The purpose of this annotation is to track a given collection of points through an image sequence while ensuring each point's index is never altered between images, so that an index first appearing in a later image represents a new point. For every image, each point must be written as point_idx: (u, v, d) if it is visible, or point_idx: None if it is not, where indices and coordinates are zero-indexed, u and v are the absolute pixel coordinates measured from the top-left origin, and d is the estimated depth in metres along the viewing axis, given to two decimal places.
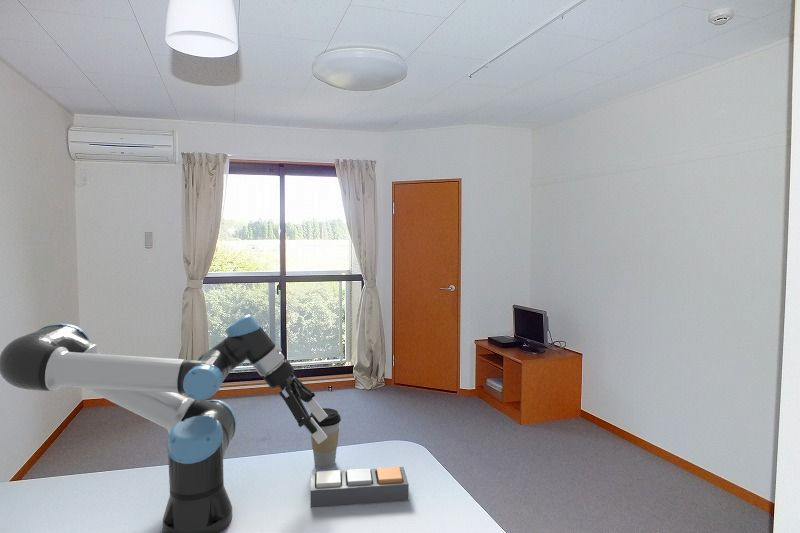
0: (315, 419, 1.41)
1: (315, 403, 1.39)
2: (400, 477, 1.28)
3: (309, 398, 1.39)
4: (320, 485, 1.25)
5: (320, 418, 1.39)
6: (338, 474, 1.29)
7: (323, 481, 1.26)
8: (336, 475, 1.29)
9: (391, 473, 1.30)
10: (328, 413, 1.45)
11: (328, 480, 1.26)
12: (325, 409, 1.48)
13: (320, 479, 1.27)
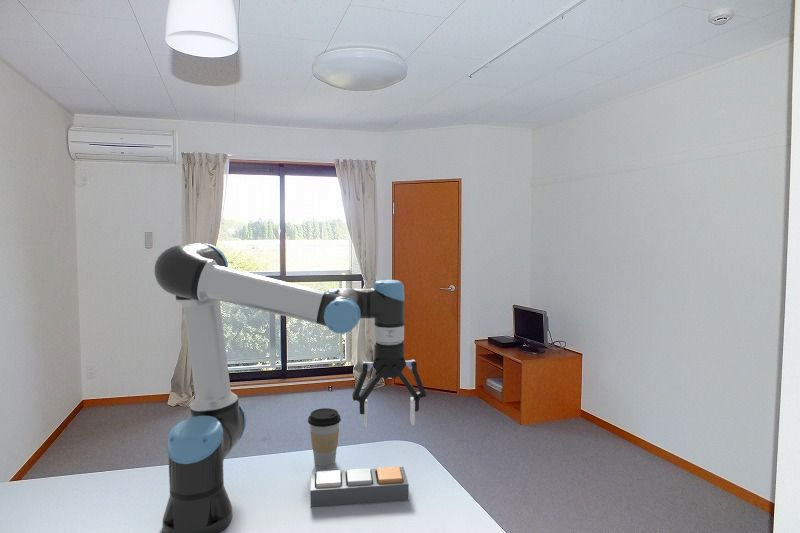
0: (315, 419, 1.41)
1: (411, 405, 1.28)
2: (400, 477, 1.28)
3: (414, 397, 1.29)
4: (320, 485, 1.25)
5: (410, 419, 1.30)
6: (338, 474, 1.29)
7: (323, 481, 1.26)
8: (336, 475, 1.29)
9: (391, 473, 1.30)
10: (328, 413, 1.45)
11: (328, 480, 1.26)
12: (325, 409, 1.48)
13: (320, 479, 1.27)
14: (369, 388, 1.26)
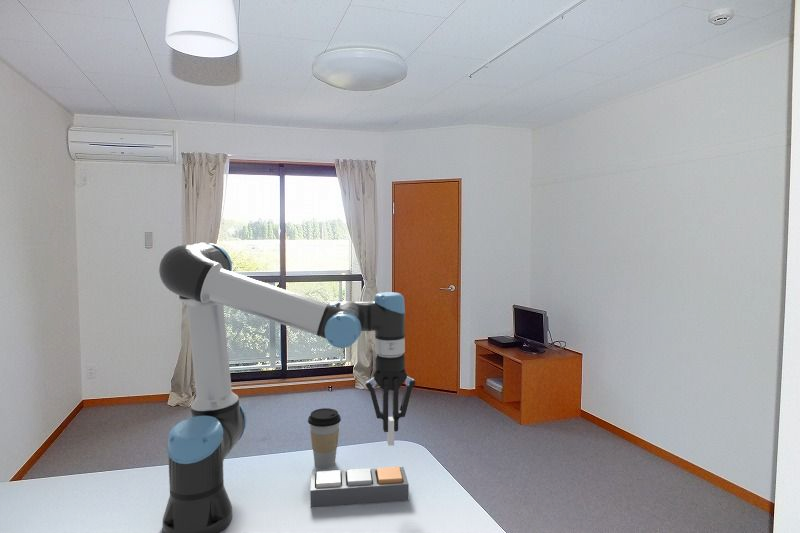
0: (315, 419, 1.41)
1: None
2: (400, 477, 1.28)
3: (393, 417, 1.28)
4: (320, 485, 1.25)
5: None
6: (338, 474, 1.29)
7: (323, 481, 1.26)
8: (336, 475, 1.29)
9: (391, 473, 1.30)
10: (328, 413, 1.45)
11: (328, 480, 1.26)
12: (325, 409, 1.48)
13: (320, 479, 1.27)
14: (385, 405, 1.27)
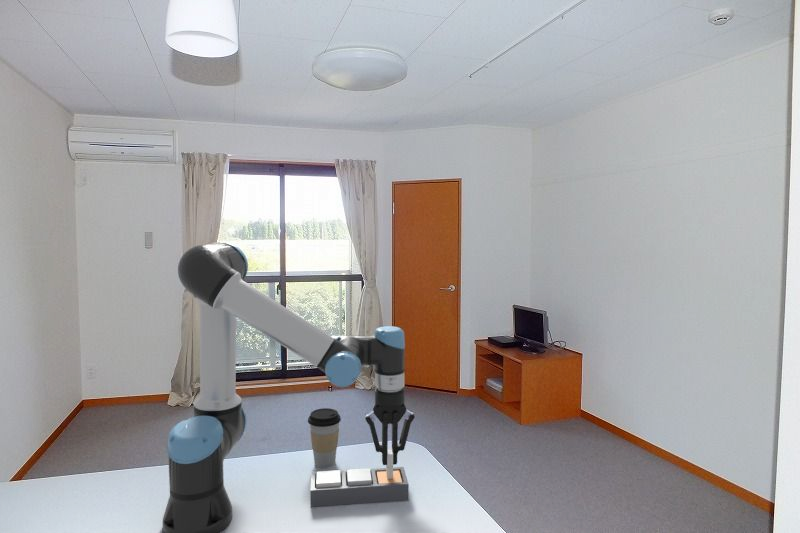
0: (315, 419, 1.41)
1: None
2: (400, 481, 1.28)
3: (392, 450, 1.29)
4: (320, 485, 1.25)
5: None
6: (338, 474, 1.29)
7: (323, 481, 1.26)
8: (336, 475, 1.29)
9: None
10: (328, 413, 1.45)
11: (328, 480, 1.26)
12: (325, 409, 1.48)
13: (320, 479, 1.27)
14: (384, 438, 1.28)
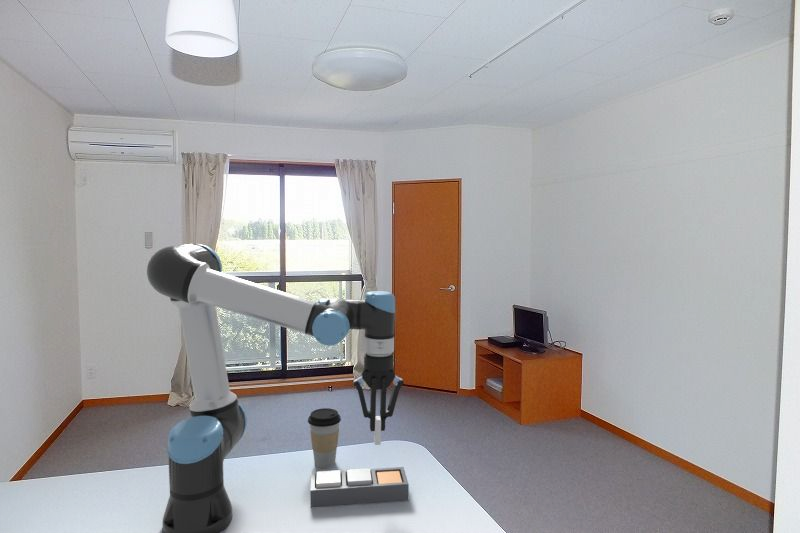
0: (315, 419, 1.41)
1: None
2: (400, 481, 1.28)
3: (380, 416, 1.28)
4: (320, 485, 1.25)
5: None
6: (338, 474, 1.29)
7: (323, 481, 1.26)
8: (336, 475, 1.29)
9: (391, 478, 1.30)
10: (328, 413, 1.45)
11: (328, 480, 1.26)
12: (325, 409, 1.48)
13: (320, 479, 1.27)
14: (372, 404, 1.27)
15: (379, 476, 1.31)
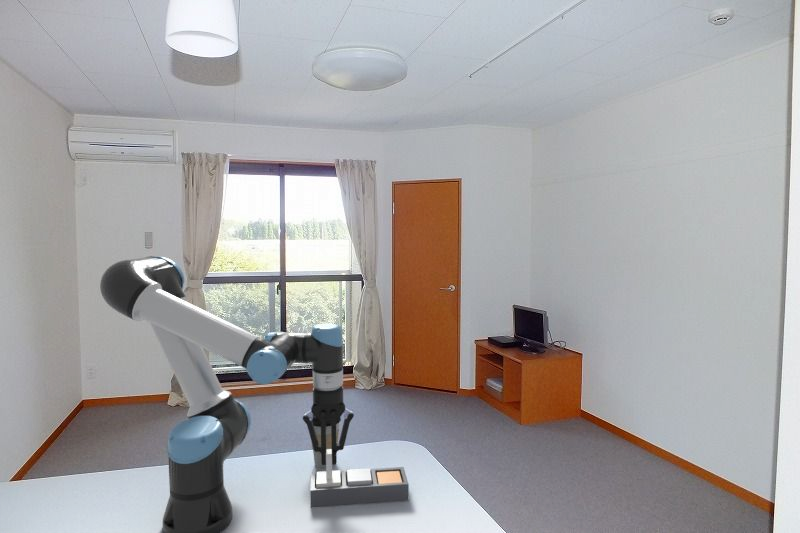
0: (315, 419, 1.41)
1: None
2: (400, 481, 1.28)
3: (331, 450, 1.27)
4: (320, 485, 1.25)
5: None
6: (338, 474, 1.29)
7: (323, 481, 1.26)
8: (336, 475, 1.29)
9: (391, 478, 1.30)
10: None
11: (328, 480, 1.26)
12: None
13: (320, 479, 1.27)
14: (322, 438, 1.26)
15: (379, 476, 1.31)
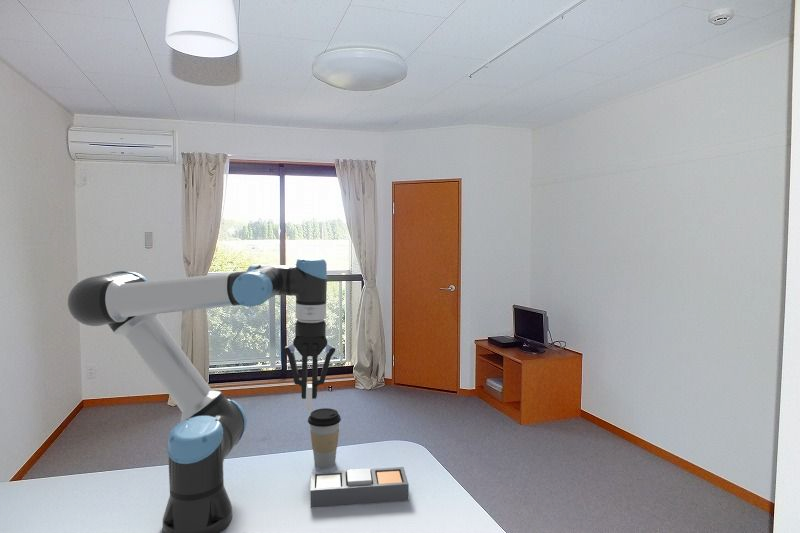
0: (315, 419, 1.41)
1: None
2: (400, 481, 1.28)
3: (312, 384, 1.27)
4: None
5: None
6: (338, 478, 1.29)
7: (323, 485, 1.26)
8: (336, 479, 1.29)
9: (391, 478, 1.30)
10: (328, 413, 1.45)
11: (328, 484, 1.26)
12: (325, 409, 1.48)
13: (320, 483, 1.27)
14: (303, 371, 1.26)
15: (379, 476, 1.31)
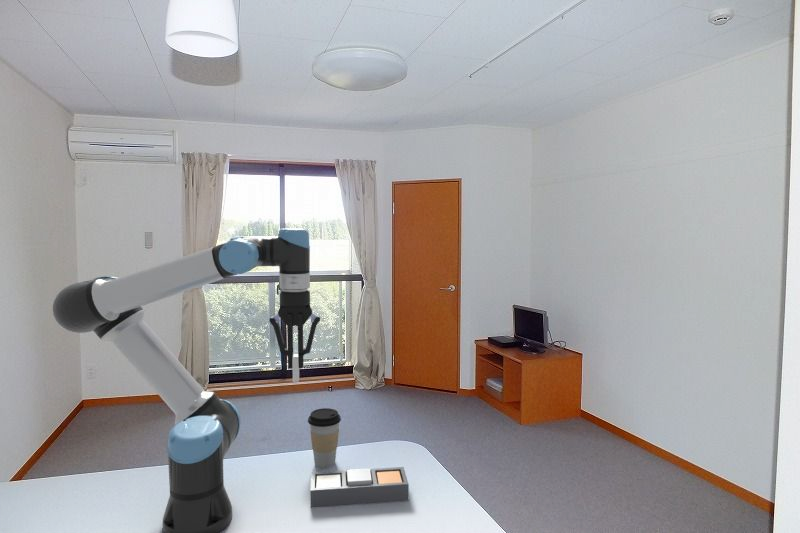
0: (315, 419, 1.41)
1: None
2: (400, 481, 1.28)
3: (298, 353, 1.29)
4: None
5: None
6: (338, 478, 1.29)
7: (323, 485, 1.26)
8: (336, 479, 1.29)
9: (391, 478, 1.30)
10: (328, 413, 1.45)
11: (328, 484, 1.26)
12: (325, 409, 1.48)
13: (320, 483, 1.27)
14: (289, 340, 1.27)
15: (379, 476, 1.31)
